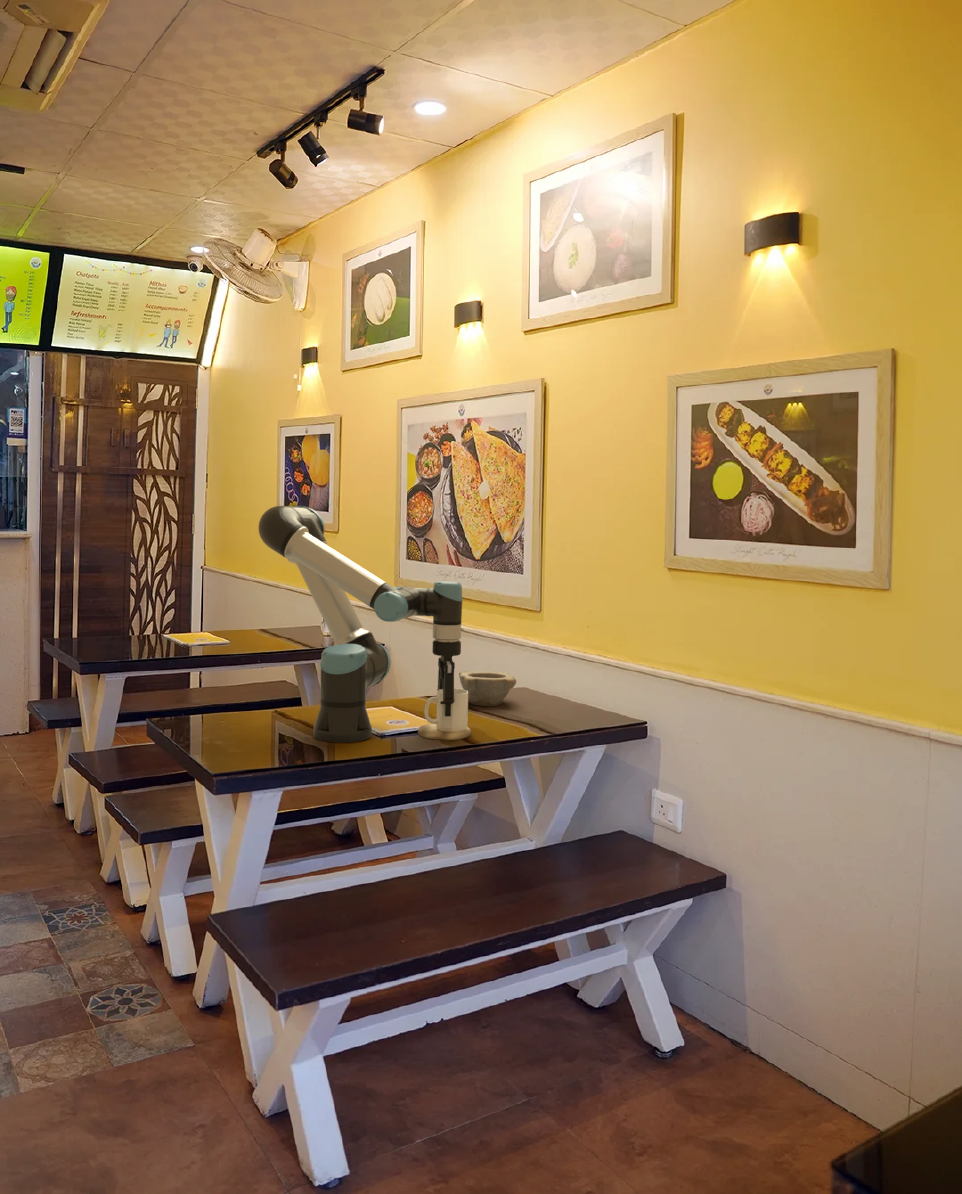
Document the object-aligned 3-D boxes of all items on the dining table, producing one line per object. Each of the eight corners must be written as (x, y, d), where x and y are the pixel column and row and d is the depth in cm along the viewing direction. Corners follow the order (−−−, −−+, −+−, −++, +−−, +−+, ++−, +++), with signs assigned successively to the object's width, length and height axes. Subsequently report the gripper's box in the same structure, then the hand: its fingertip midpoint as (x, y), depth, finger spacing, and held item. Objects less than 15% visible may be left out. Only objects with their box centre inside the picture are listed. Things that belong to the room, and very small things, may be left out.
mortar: (509, 698, 318) (510, 669, 317) (516, 709, 302) (517, 679, 301) (456, 697, 317) (457, 669, 316) (461, 708, 300) (462, 678, 299)
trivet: (420, 740, 259) (421, 735, 259) (415, 727, 273) (415, 723, 273) (474, 739, 261) (474, 734, 261) (466, 727, 275) (466, 722, 275)
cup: (472, 731, 265) (473, 693, 264) (429, 734, 260) (430, 695, 259) (460, 724, 273) (461, 687, 272) (418, 727, 268) (419, 689, 267)
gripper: (466, 645, 255) (464, 733, 257) (455, 634, 276) (453, 715, 278) (437, 645, 254) (435, 733, 256) (428, 634, 274) (426, 715, 276)
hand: (444, 724), depth 267 cm, fingers closed on cup, 8 cm apart
